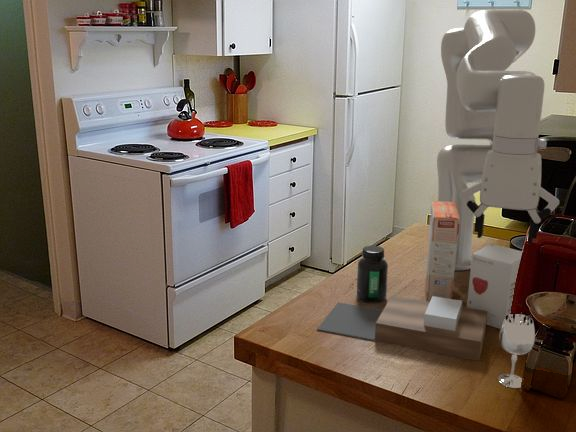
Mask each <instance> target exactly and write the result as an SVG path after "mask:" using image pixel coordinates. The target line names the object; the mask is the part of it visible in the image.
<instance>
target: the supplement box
mask: <svg viewBox="0 0 576 432" xmlns="http://www.w3.org/2000/svg"><path fill="white" fill-rule="evenodd" d="M522 252H523V251H522V250H518V249H514V248H510V247H506V246H501V245H497V244H494V243H489V244H487V245H485V246H484V247H482V248H480V249H478V250H476V251H474V252H471V256H472V260H471V269H469V270H470V272H469V283H468V290H467V291H468V292H467V301H466V308H472V309H478V310H484V311H488V314H487V323H486V326H490V327H493V328H495V329H499V330H500V328H501V325H502V322H503V320H504V317H505V316H506V315H508V314H510V313H511V306H512V301H513V295H514V288H515V282H516V278H517V273H518V268H519V263H520V259H521V255H522Z"/></svg>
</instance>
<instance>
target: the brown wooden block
mask: <svg viewBox="0 0 576 432" xmlns="http://www.w3.org/2000/svg"><path fill="white" fill-rule="evenodd" d="M429 303H430V302H428V301H426V300H421V299H415V298H414V299H413V298H409V297H408V298H407V297H402V296H398V295H397V296H395V295H391V297H390V298H389V300H388V301H387V304H386V305H385V306H384V309H382V310H383V311H382V313H381V315H380V316H379V318H378V320H377V322H376V326H375V340H374V342H379V343H382V344H388V345H393V346H399V347H403V348H410V349H415V350H419V351H425V352H430V353H436V354H440V355H446V356H450V357H451V356H452V357H457V358H462V359H468V360H473V361H476V362H477V361H478V362H480V359H481V353H482V349H483V344H484V339H485V334H486V331H487V324H486V323H487V314H488V311H484V310H478V309H472V308H467V307H465V306H462V309H461V314H460V317H459V321H458V324H457V327H456V330H455V331H452V330H446V329H441V328H435V327H429V326H424V316H425V312H426V310H427V307H428V305H429Z"/></svg>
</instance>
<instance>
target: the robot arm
mask: <svg viewBox="0 0 576 432" xmlns="http://www.w3.org/2000/svg"><path fill="white" fill-rule="evenodd" d="M535 36H536V23H535V20H534V17H533V15H532V14H531V13H530V12H528V11H527V10H523V9H485V10H484V9H483V10H479V11H477V12H474V13H473V14H471V15H470V16H469V17H468V18H467V19H466V22H465V24H464V27H457V28H452V29H450V30H448V31H446V32H445V33H444V34H443V37H442V38H441V42H440V43H441V44H440V45H441V46H440V56H441V57H440V58H441V62H442V66H443V70H444V73H445V76H446V83H447V85H446V86H447V87H446V103H445V104H446V105H445V120H444V121H445V122H444V123H445V126H444V127H445V132H446V135H448V137H449V138H451V139H455V140H456V139H457V140H483V141H486V140H487V141H489V144H450V145H447V146H444V147H443V148H441V149H440V150H439V152H438V154H437V157H436V166H437V168H436V169H437V182H438V183H437V184H438V186H437V187H438V191H437V201H439V202H454V203H456V206H457V211H458V215H459V219H460V221H459V231H458V241H457V251H456V261H455V271H467V270H471V260H472V246H473V233H477V236H476V237H477V239H480V238H482V237H483V234H484V224H485V213H484V212H485V211H486V210H487V209H489V208H496V209H497V208H498V209H504V210H505V209H506V210H516V211H527V212H528V214H529V216H530V218H531V219H530V221H529V229H528V230H529V231H528V237H527V240H528V241H527V244H529V245H532V244H533V239H535V240H537V238H538V230H539V223H541V222H542V221H543V220H544V219H546V218H547V217H549V216H550V215H551V214H552V212H553V211H554V210H555V209H557V207H558V206H559V205H560V200H559V198H557V197H556V196H554V195H553V194H552V193H550V192H549V191H547V190H546V189H545V188H543V186H541V185H542V168H543V167H542V163H543V162H542V154H540V153H538V152H537V151H540V150H542V149H544V150H546V149H547V144H548V142H547V140H545V141H544V140H542V139H540V138H539V135H540V129H541V128H540V127H541V119H542V118H541V117H542V112H543V111H542V109H543V102H544V94H545V80H544V78H543V77H542V76H539V75H536V73H534V72H531V71H526V70H507V69H509V68H510V66H511V65H512V64H514V63H515V62H516V61H518V59H520V58H521V57H522V56H523V55H525V53H526V52H528V50H529V49H531V46H532V45H533V43H534V40H535ZM473 183H476V184H473ZM468 184H473V185H472V186H470V187H468ZM478 192H479V204H478V203H477V202H476V196H475V194H476V193H478ZM540 198H542V199H543V200H545V202H547V205H546V206H544V207H543V208H542V209H541V210H539V209H538V206H539V202H540Z"/></svg>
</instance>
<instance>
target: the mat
mask: <svg viewBox="0 0 576 432" xmlns="http://www.w3.org/2000/svg"><path fill="white" fill-rule="evenodd" d="M383 310H384V309H380V308H375V307H370V306H369V307H368V306H362V305H357V304H350V303H345V302H339V301H338V302H337V303H336V304H335V305H334V306H333V308H332V309H331V311H329V313H328V314H327V315H326V317H325V318H324V320H323V321H322V322H321V323H320V324H319V326H318V327H317V328H316V330H317V331H320V332H323V333H325V332H326V333H330V334H336V335H340V336H346V337H351V338H356V339H361V340H365V341H366V340H367V341H374V342H375V326H376V322H377V320H378V318H379V316H380V315H381V313H382V311H383Z"/></svg>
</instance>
